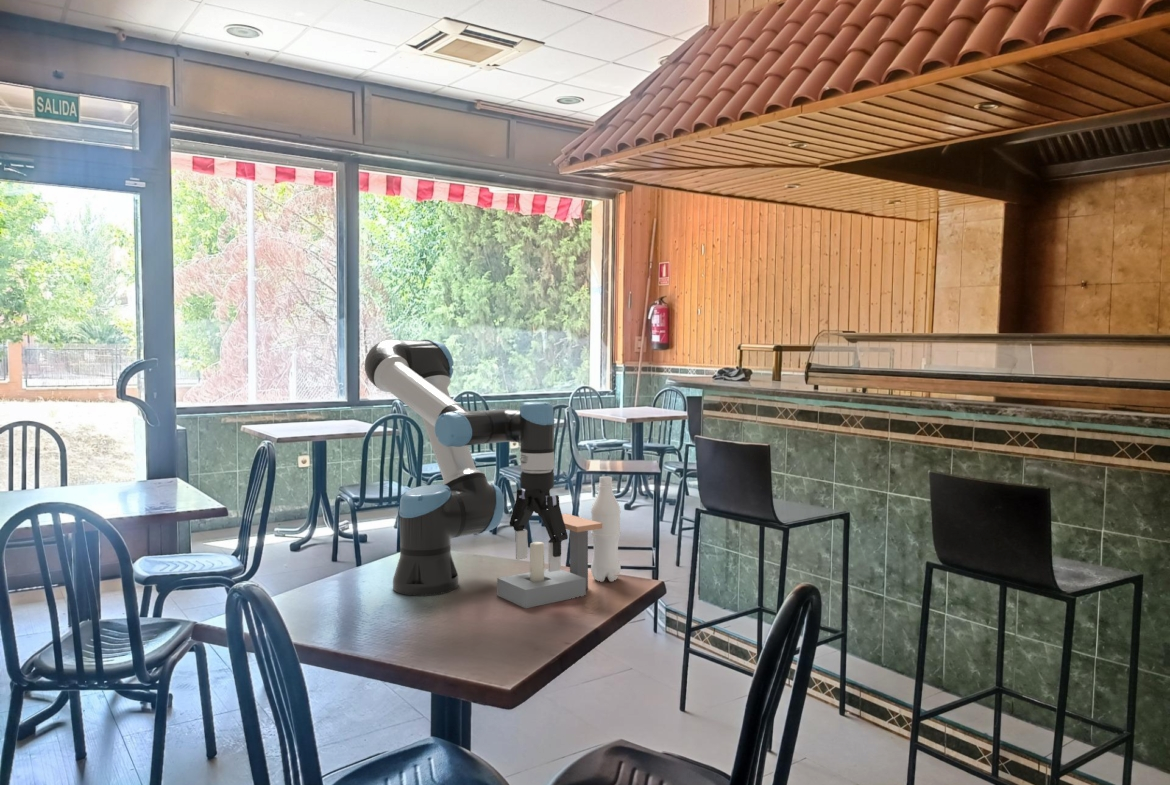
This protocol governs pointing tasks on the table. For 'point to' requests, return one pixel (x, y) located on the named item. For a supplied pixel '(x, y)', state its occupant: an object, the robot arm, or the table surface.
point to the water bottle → (605, 533)
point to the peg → (536, 562)
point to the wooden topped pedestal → (579, 543)
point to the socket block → (541, 588)
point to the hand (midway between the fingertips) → (537, 564)
